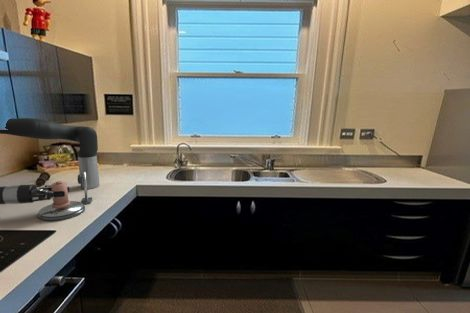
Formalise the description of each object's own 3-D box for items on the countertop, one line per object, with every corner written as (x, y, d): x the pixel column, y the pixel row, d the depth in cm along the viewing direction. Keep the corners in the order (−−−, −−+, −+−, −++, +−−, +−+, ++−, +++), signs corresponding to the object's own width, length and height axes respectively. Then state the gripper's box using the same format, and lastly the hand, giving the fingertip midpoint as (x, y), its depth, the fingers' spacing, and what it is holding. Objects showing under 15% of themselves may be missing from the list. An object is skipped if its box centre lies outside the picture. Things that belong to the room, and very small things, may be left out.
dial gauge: (82, 201, 132) (79, 171, 129) (92, 200, 133) (89, 170, 130) (79, 204, 128) (76, 173, 125) (90, 203, 129) (87, 173, 126)
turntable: (47, 204, 123) (47, 202, 123) (87, 201, 127) (87, 199, 127) (32, 219, 108) (32, 216, 108) (77, 215, 112) (77, 212, 112)
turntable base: (47, 207, 124) (47, 204, 124) (89, 203, 128) (88, 201, 128) (30, 223, 108) (30, 220, 108) (79, 218, 112) (78, 216, 112)
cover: (55, 203, 120) (52, 180, 118) (72, 202, 121) (70, 179, 119) (49, 209, 113) (46, 184, 111) (67, 207, 115) (65, 183, 113)
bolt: (38, 190, 152) (44, 182, 166) (47, 185, 153) (52, 177, 167) (30, 182, 150) (37, 174, 163) (39, 177, 151) (45, 169, 165)
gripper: (10, 190, 105) (60, 188, 109) (27, 180, 119) (71, 178, 123) (12, 209, 107) (62, 206, 111) (29, 197, 120) (72, 194, 124)
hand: (66, 191), depth 117 cm, fingers closed on cover, 5 cm apart
